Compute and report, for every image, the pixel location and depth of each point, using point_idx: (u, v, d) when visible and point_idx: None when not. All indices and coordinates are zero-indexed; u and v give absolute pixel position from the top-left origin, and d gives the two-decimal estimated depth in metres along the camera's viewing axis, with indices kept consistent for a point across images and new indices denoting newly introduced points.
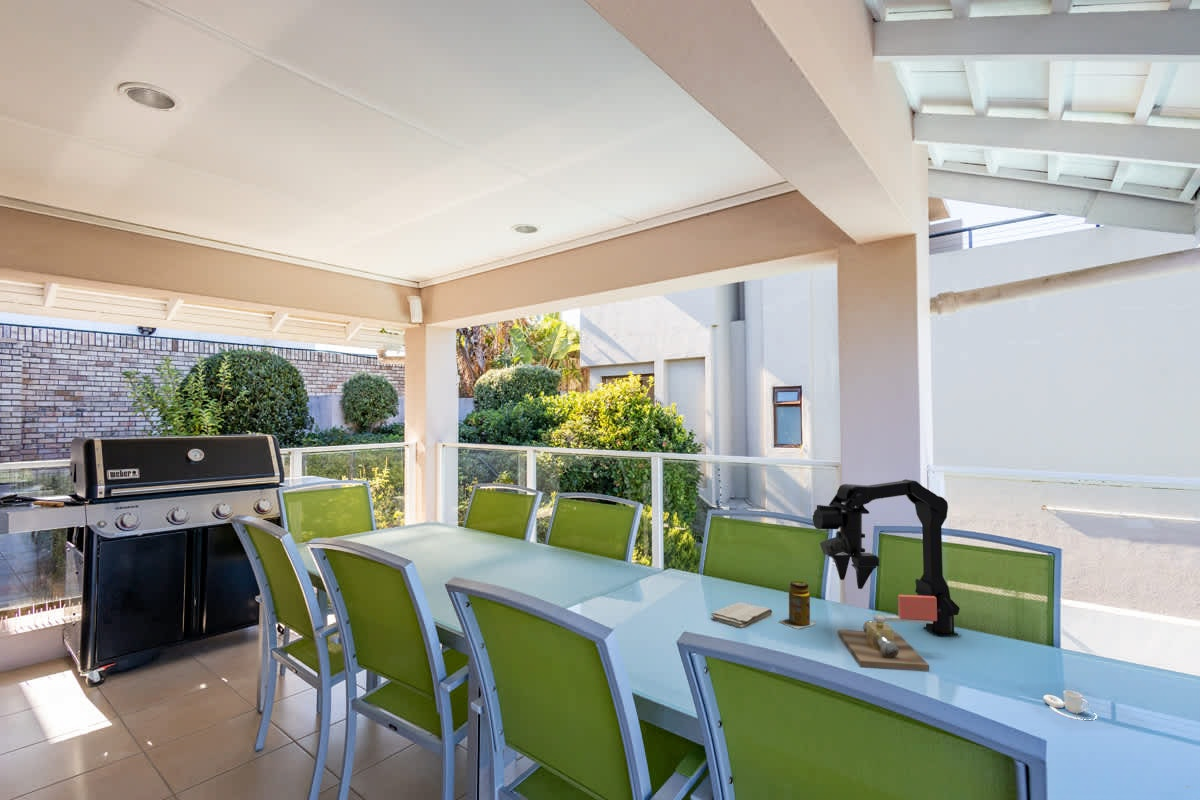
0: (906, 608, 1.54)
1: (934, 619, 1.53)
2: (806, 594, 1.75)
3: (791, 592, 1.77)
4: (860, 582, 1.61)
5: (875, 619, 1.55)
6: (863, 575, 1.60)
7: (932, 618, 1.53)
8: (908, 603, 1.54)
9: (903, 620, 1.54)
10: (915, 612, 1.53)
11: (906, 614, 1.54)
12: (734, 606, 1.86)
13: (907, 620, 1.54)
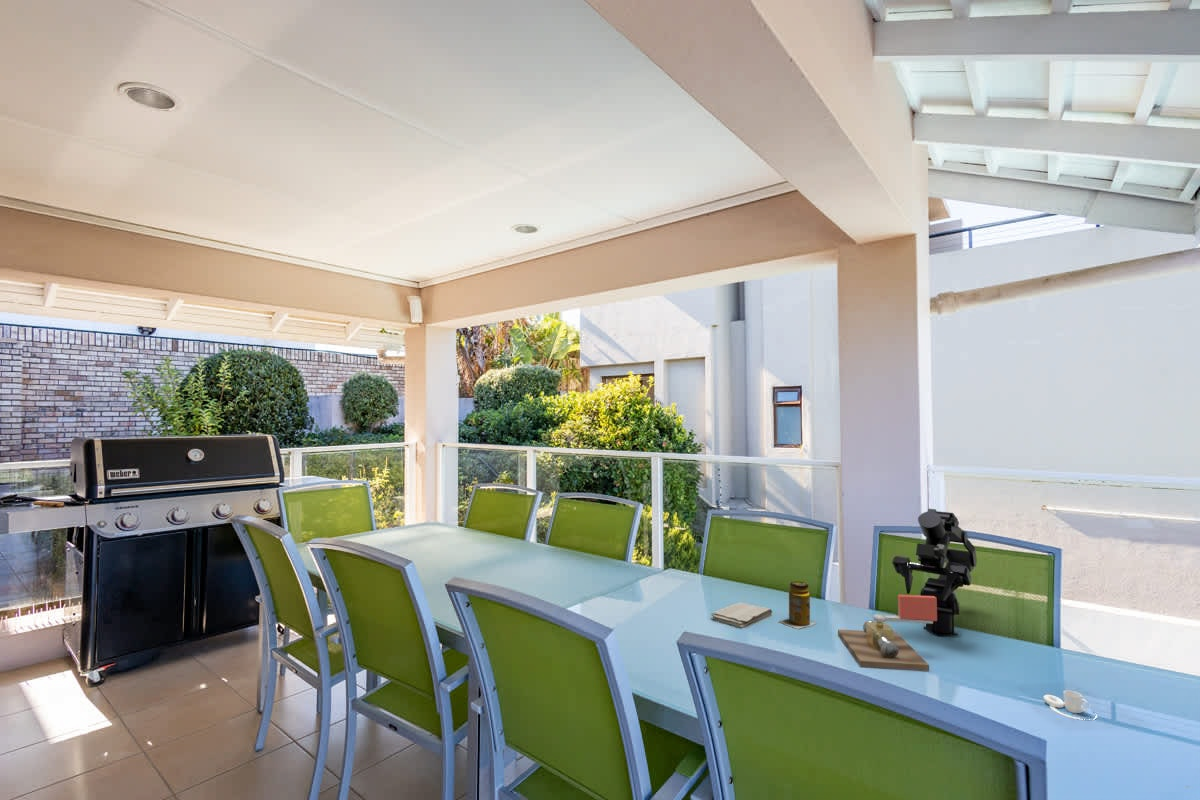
0: (906, 608, 1.54)
1: (934, 619, 1.53)
2: (806, 594, 1.75)
3: (791, 592, 1.77)
4: (946, 593, 1.57)
5: (875, 619, 1.55)
6: (950, 588, 1.58)
7: (932, 618, 1.53)
8: (908, 603, 1.54)
9: (903, 620, 1.54)
10: (915, 612, 1.53)
11: (906, 614, 1.54)
12: (734, 606, 1.86)
13: (907, 620, 1.54)
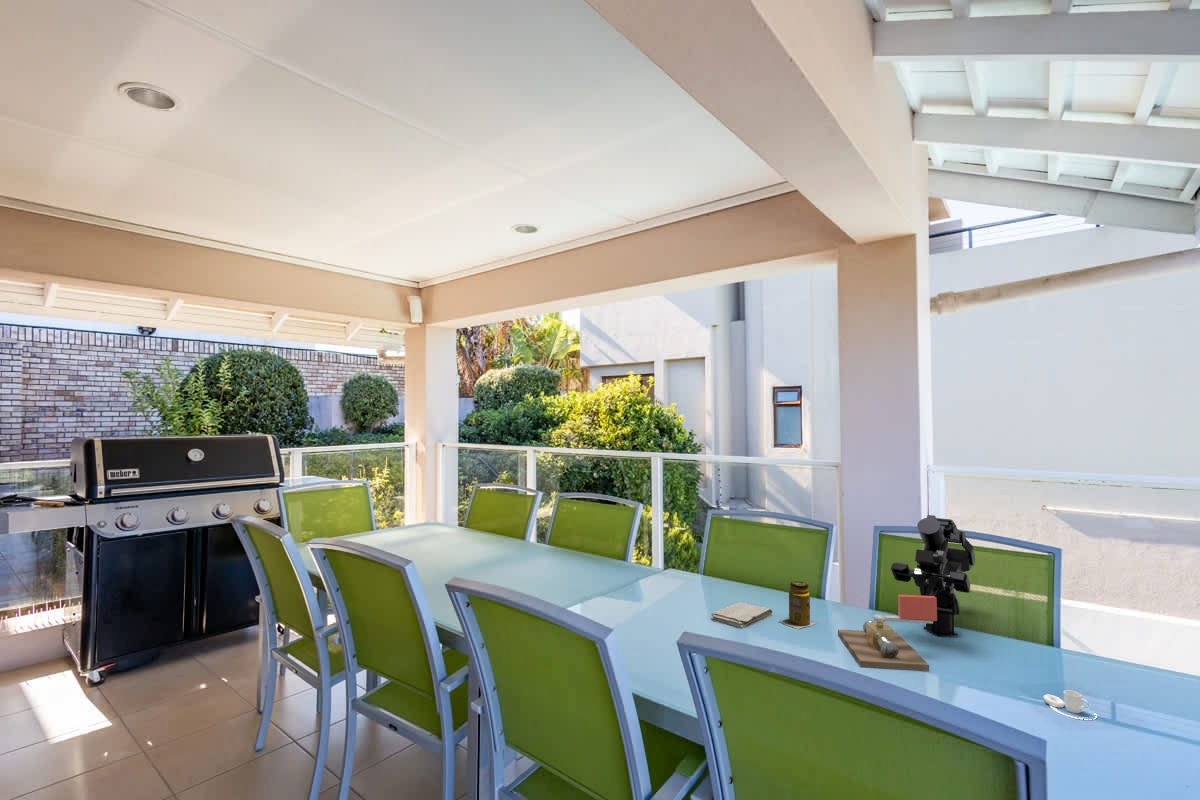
0: (906, 608, 1.54)
1: (934, 619, 1.53)
2: (806, 594, 1.75)
3: (791, 592, 1.77)
4: None
5: (875, 619, 1.55)
6: (932, 592, 1.59)
7: (932, 618, 1.53)
8: (908, 603, 1.54)
9: (903, 620, 1.54)
10: (915, 612, 1.53)
11: (906, 614, 1.54)
12: (734, 606, 1.86)
13: (907, 620, 1.54)
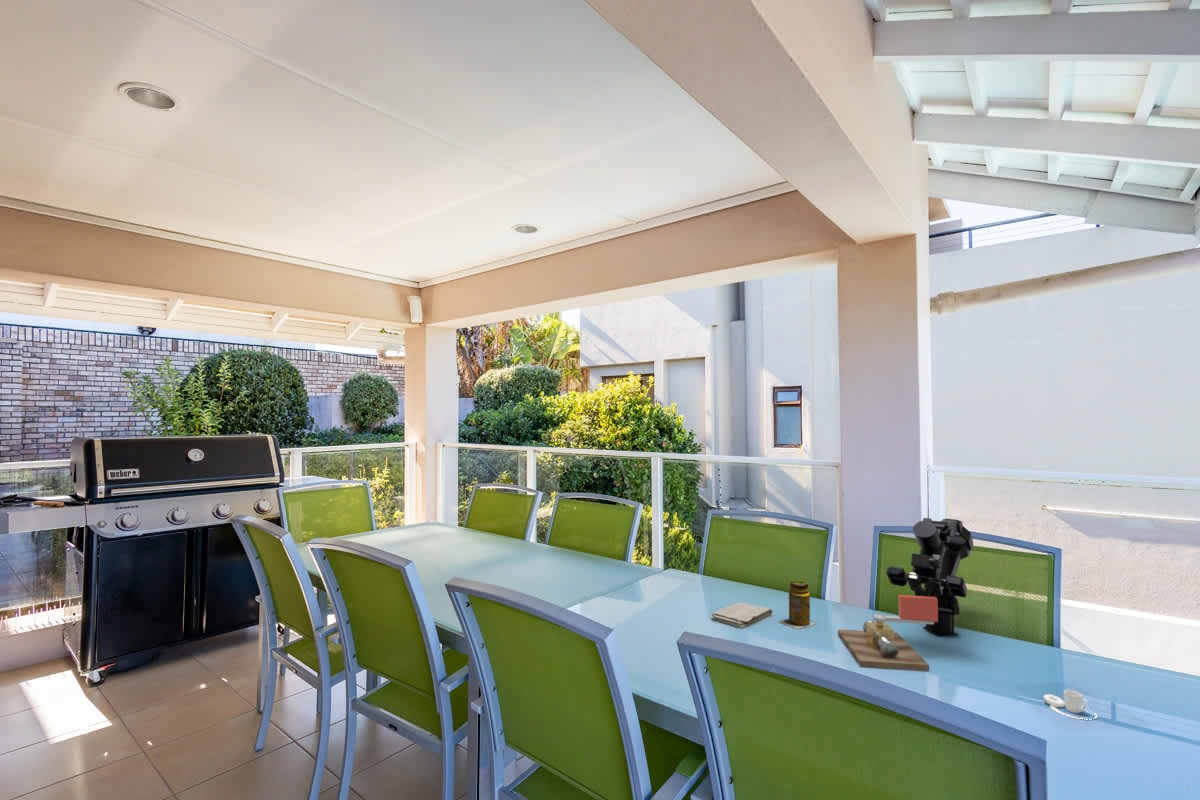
0: (906, 608, 1.53)
1: (935, 620, 1.52)
2: (806, 594, 1.75)
3: (791, 592, 1.77)
4: None
5: (875, 619, 1.55)
6: None
7: (933, 619, 1.52)
8: (908, 603, 1.53)
9: (903, 620, 1.54)
10: (916, 613, 1.53)
11: (906, 614, 1.53)
12: (734, 606, 1.86)
13: (907, 620, 1.53)
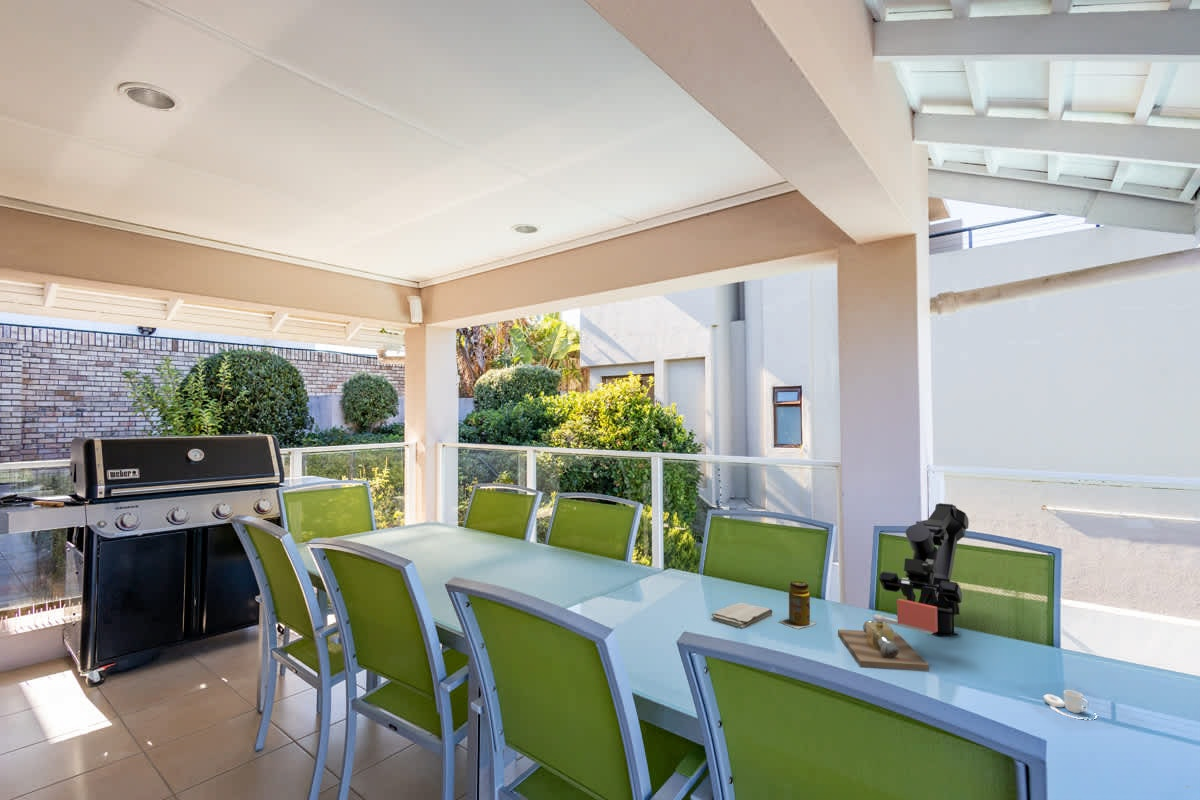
0: (903, 613, 1.50)
1: (932, 630, 1.45)
2: (806, 594, 1.75)
3: (791, 592, 1.77)
4: None
5: None
6: (924, 603, 1.51)
7: (930, 629, 1.45)
8: (905, 608, 1.50)
9: (900, 624, 1.51)
10: (912, 619, 1.48)
11: (903, 619, 1.50)
12: (734, 606, 1.86)
13: (904, 625, 1.50)
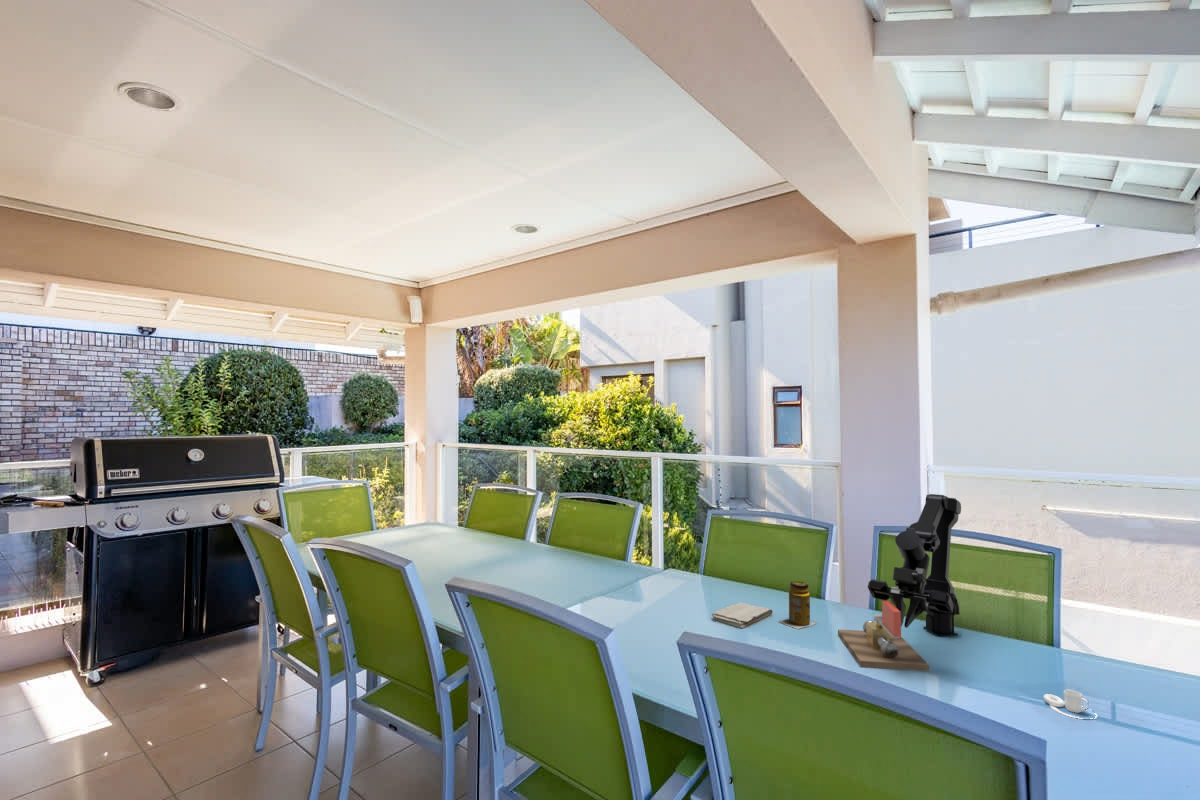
0: (884, 614, 1.49)
1: (893, 633, 1.42)
2: (806, 594, 1.75)
3: (791, 592, 1.77)
4: (910, 619, 1.44)
5: None
6: (914, 613, 1.45)
7: (892, 632, 1.43)
8: (884, 609, 1.49)
9: (883, 625, 1.50)
10: (886, 620, 1.47)
11: (884, 620, 1.49)
12: (734, 606, 1.85)
13: (884, 626, 1.49)
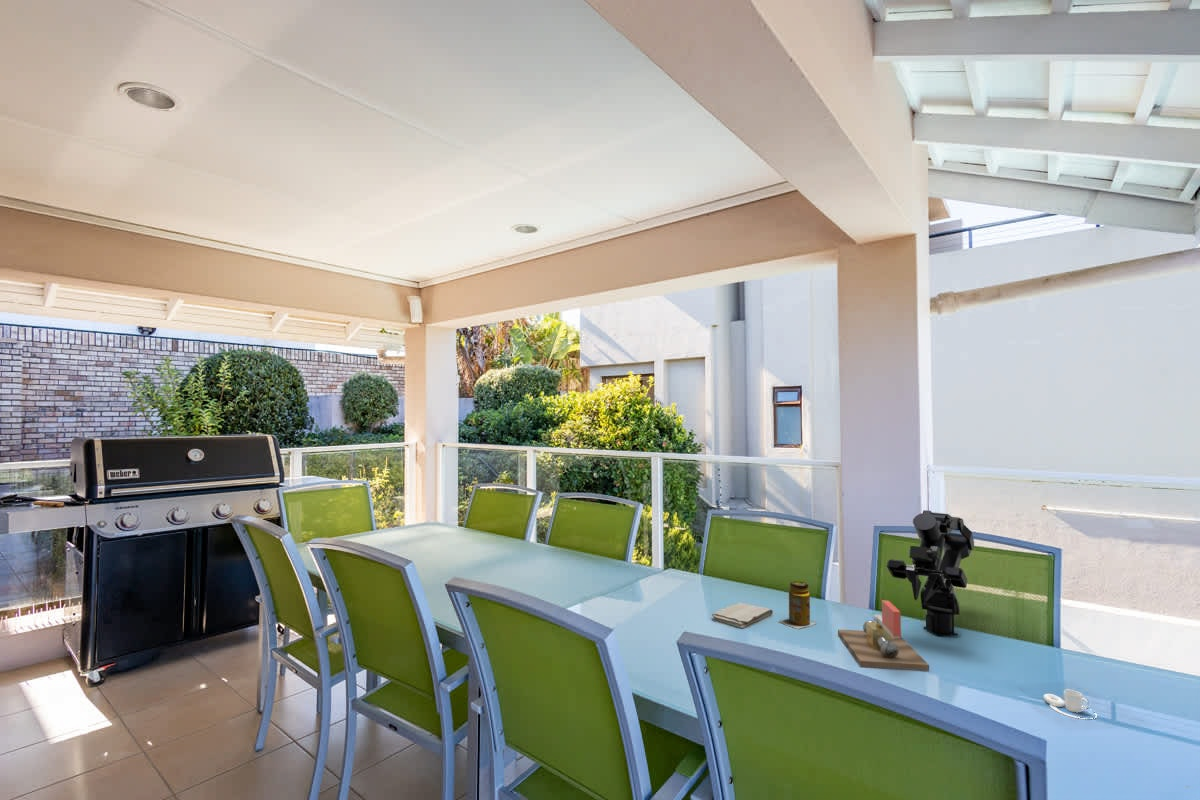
0: (883, 614, 1.49)
1: (893, 633, 1.42)
2: (806, 594, 1.75)
3: (791, 592, 1.77)
4: (928, 594, 1.55)
5: None
6: (932, 589, 1.56)
7: (892, 632, 1.43)
8: (884, 609, 1.49)
9: (883, 625, 1.50)
10: (886, 620, 1.47)
11: (884, 620, 1.49)
12: (735, 606, 1.85)
13: (884, 626, 1.49)
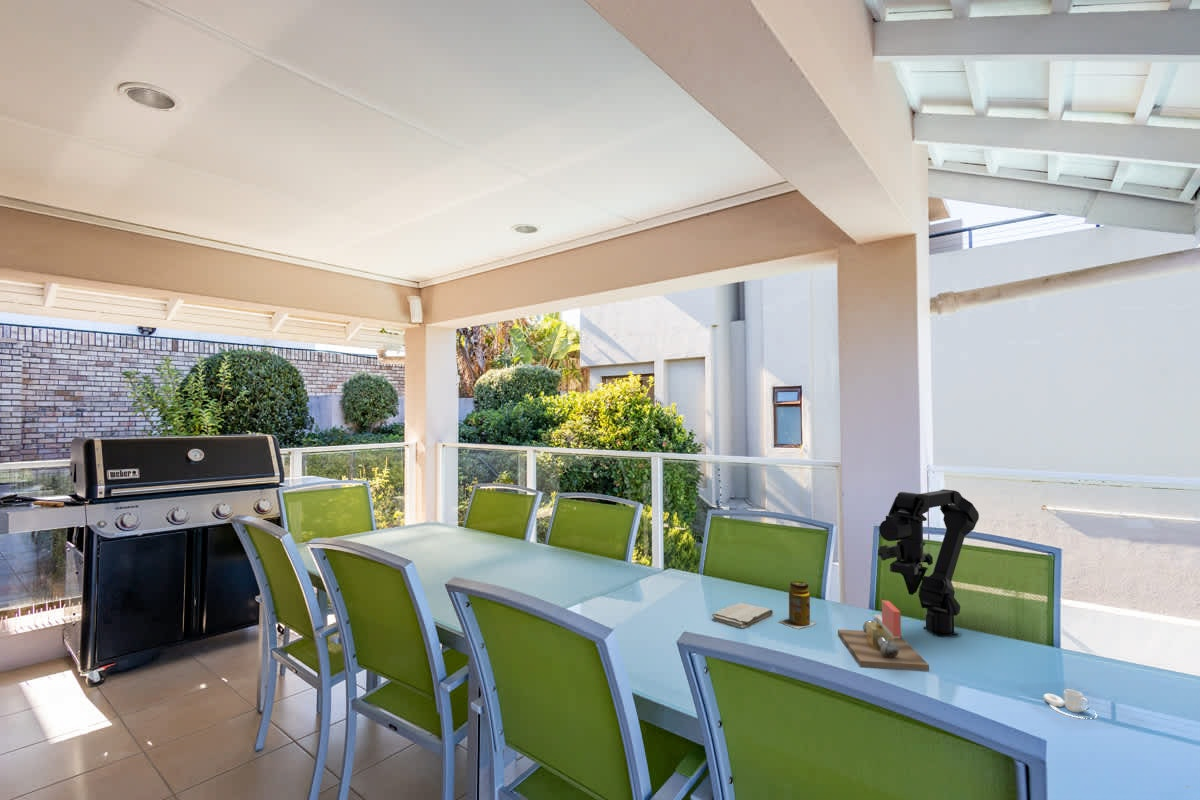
0: (883, 614, 1.49)
1: (893, 633, 1.42)
2: (806, 594, 1.75)
3: (791, 592, 1.77)
4: (908, 587, 1.62)
5: None
6: (910, 581, 1.62)
7: (892, 632, 1.43)
8: (884, 609, 1.49)
9: (883, 625, 1.50)
10: (886, 620, 1.47)
11: (884, 620, 1.49)
12: (735, 607, 1.85)
13: (884, 626, 1.49)
